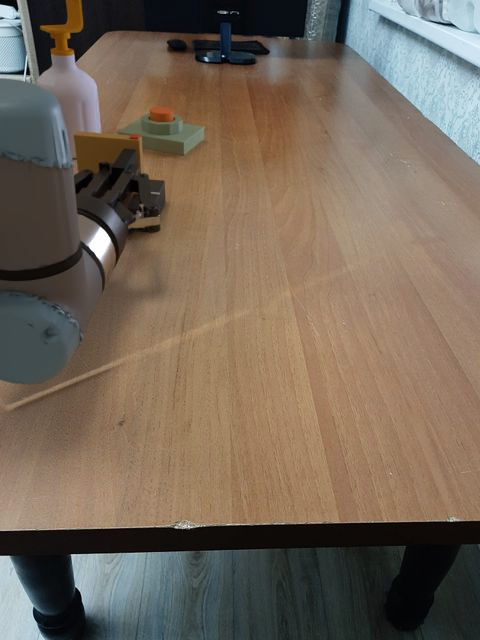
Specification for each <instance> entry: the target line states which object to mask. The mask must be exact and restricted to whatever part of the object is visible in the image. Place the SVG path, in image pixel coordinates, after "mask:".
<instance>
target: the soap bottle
mask: <svg viewBox="0 0 480 640" xmlns="http://www.w3.org/2000/svg"><path fill="white" fill-rule="evenodd" d="M65 4H66V13H67V21H66V23H65V24H52V25H51V24H49V25H48V24H47V25H46V24H45V25H40V26H39V29H40V31H43V32H46V33H49V34H50V38H51V39H54V43H55V47H52V48H50V56H51V66H50V67H49V68H48V69H47V70H45V71H43V72H42V73H41V74H40V76H38V77H37V79H36V83H35V84H36V85H38V86H40V87H42V88H44V89H46V90H48V91H49V92H50V93H52V94H53V95H54V96H55V97H56V99H57V100H58V102H59V104H60V106H61V109H62V114H63V118H64V123H65V125H66V129H67V135H68V140H69V146H70V151H71V157H72V158H73V160H74V159H75V160H77V158H76V150H75V142H74V134H75V133H76V132H77V131H82V132H94V133H102V124H101V115H100V113H101V112H100V103H99V94H98V93H99V92H98V85H97V84H96V81H95V79H93V78H92V77H91V76H90V75H89V74H88V73H87V72H85V71H83V70H82V69H80V68H79V67H77V65H76V59H75V58H76V57H75V50H74V49H73V48H69V47H68V40H69V39H71V34H73V33H75V34H76V33H80V32H81V31H82V30H83V29H84V16H83V7H82V6H83V5H82V0H65Z"/></svg>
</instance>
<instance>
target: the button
mask: <svg viewBox="0 0 480 640" xmlns="http://www.w3.org/2000/svg"><path fill="white" fill-rule="evenodd" d="M149 113H150V120H152V121H155V122H171V121H174V109H172V108H170V107H166V106H154V107H150V108H149Z"/></svg>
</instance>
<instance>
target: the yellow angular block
mask: <svg viewBox="0 0 480 640" xmlns="http://www.w3.org/2000/svg"><path fill="white" fill-rule="evenodd" d="M74 142H75V150H76V166H77V173H78V172H80V171H82V170H84V169H90V170H92V171H93V173H97V172H98V171H99V163H100V162H109V163H114V162H115V161H116V159H117V158H118V156H119V155H120V153H121V152H122V150H123V149H136V157H137V165H139V166H140V174H141V173H145V172H144V155H143V148H142V137H141V136H140V135H139V134H131V136H130V135H118V133H117V134H116V133H105V132H101V133H94V132H82V131H77V132H76V133H75V134H74ZM112 188H113V186H112ZM135 194H137V195H139V193H136V192H135Z"/></svg>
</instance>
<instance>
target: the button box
mask: <svg viewBox="0 0 480 640" xmlns="http://www.w3.org/2000/svg"><path fill="white" fill-rule="evenodd" d="M173 114H174V113H173ZM117 134H118V135H130V136H131V134H139V135H140V136H141V137H142V150H150V151H155V152H161V153H165V154H172V155H179V156H185V155H186V154H188V153H189V152H190V151H191V150H192V149H194V148H195V147H196V146H198V145H199V144H200V143H201V142H203V140H205V126H202V125H195V124H189V123H184V121H183V118H182V116H180V115H177V114H176V113H175V114H174V121H171V122H155V121H152V120H150V112H149V113H145V114H143V115H142V116H140V118H138V119H136V120H134V121H133V122H131V123H129V124H128V125H126V126H125V127H123V128H121V129H119V130H118V131H117Z"/></svg>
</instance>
